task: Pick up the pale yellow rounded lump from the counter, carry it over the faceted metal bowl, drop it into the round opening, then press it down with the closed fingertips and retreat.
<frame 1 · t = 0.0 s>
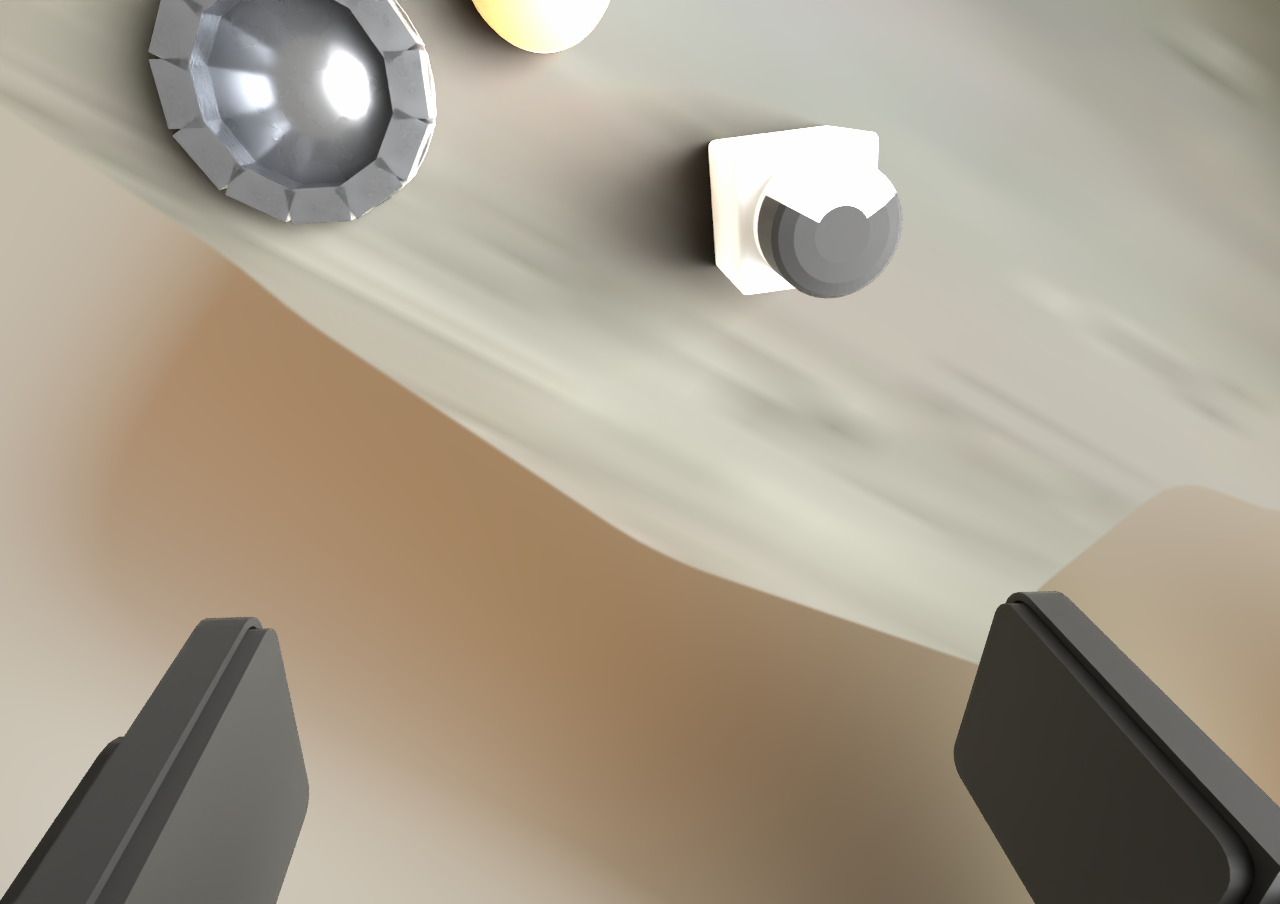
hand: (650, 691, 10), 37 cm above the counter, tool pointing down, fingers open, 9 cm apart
faceted metal bowl: (311, 89, 39), on the counter
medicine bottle: (770, 197, 44), on the counter
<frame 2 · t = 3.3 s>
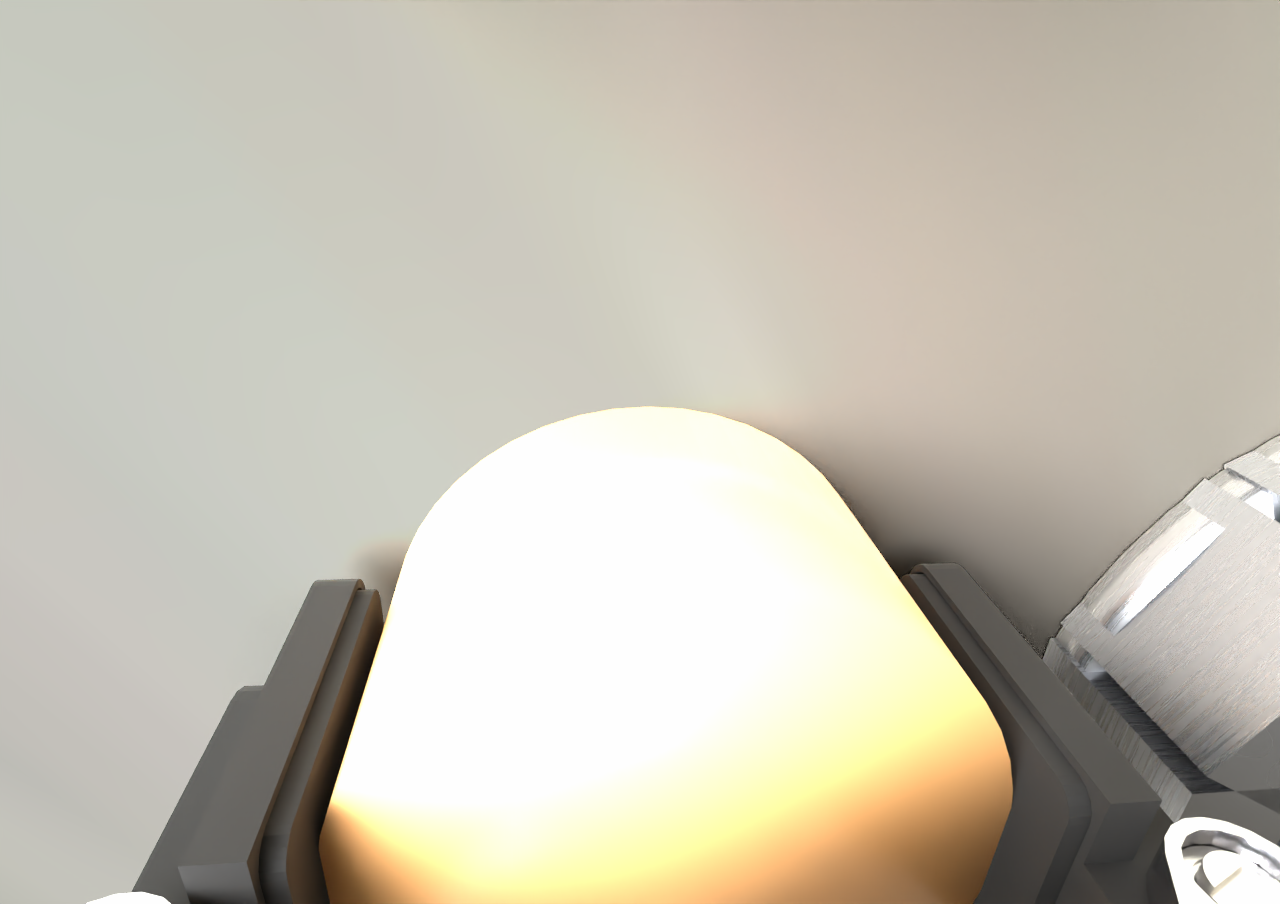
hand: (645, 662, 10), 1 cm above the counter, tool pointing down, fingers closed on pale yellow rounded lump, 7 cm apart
pale yellow rounded lump: (637, 622, 11), on the counter, touching gripper
when the fingers open (5 cm above the counter, at t = 7.7 s): pale yellow rounded lump drops 3 cm, resting on faceted metal bowl.
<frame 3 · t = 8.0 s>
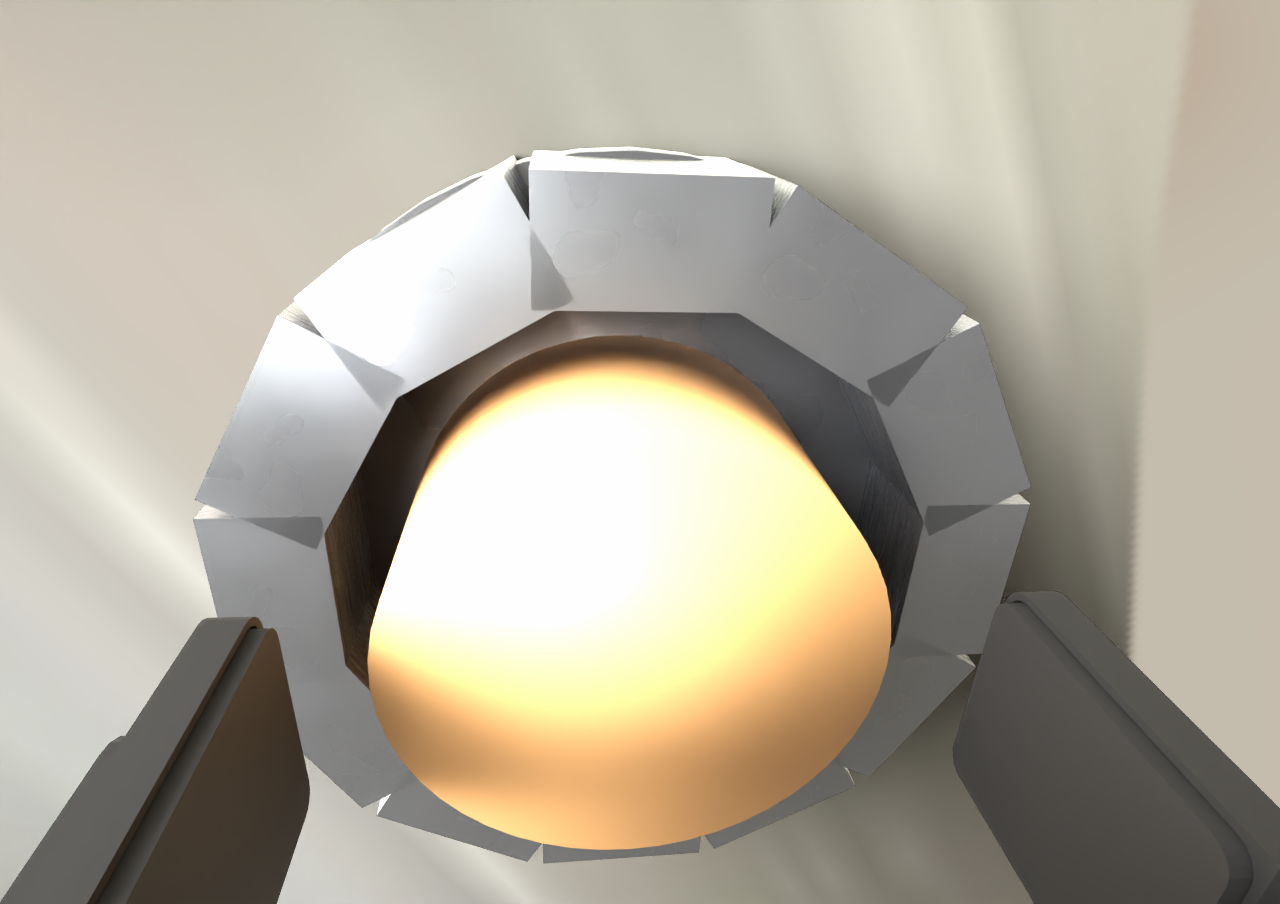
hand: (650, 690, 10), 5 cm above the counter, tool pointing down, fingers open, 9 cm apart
faceted metal bowl: (618, 499, 14), on the counter
pale yellow rounded lump: (616, 520, 14), point 1 cm above the counter, touching faceted metal bowl
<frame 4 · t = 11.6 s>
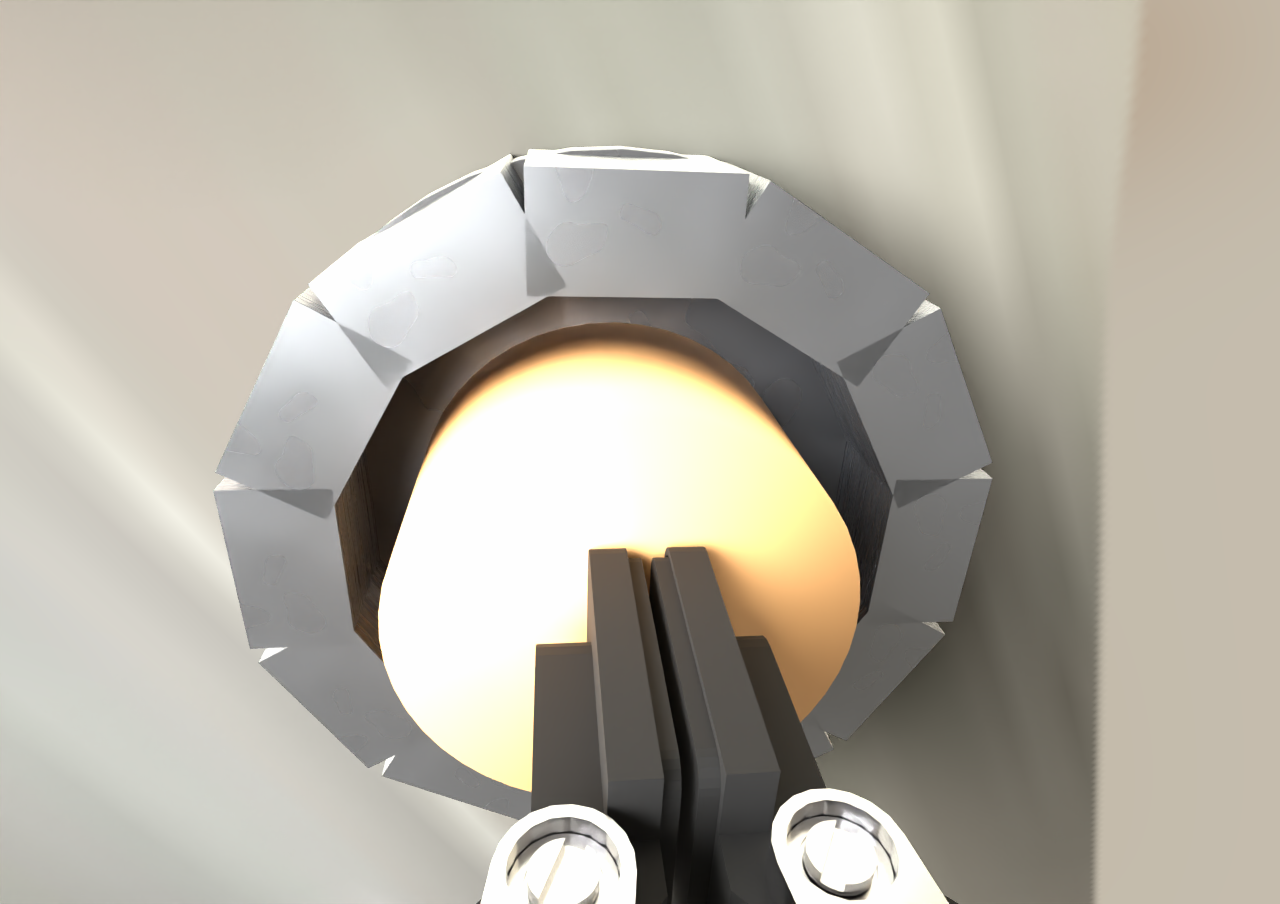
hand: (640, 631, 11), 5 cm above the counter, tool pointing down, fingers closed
faceted metal bowl: (610, 479, 15), on the counter
pale yellow rounded lump: (607, 498, 15), point 1 cm above the counter, touching faceted metal bowl, gripper
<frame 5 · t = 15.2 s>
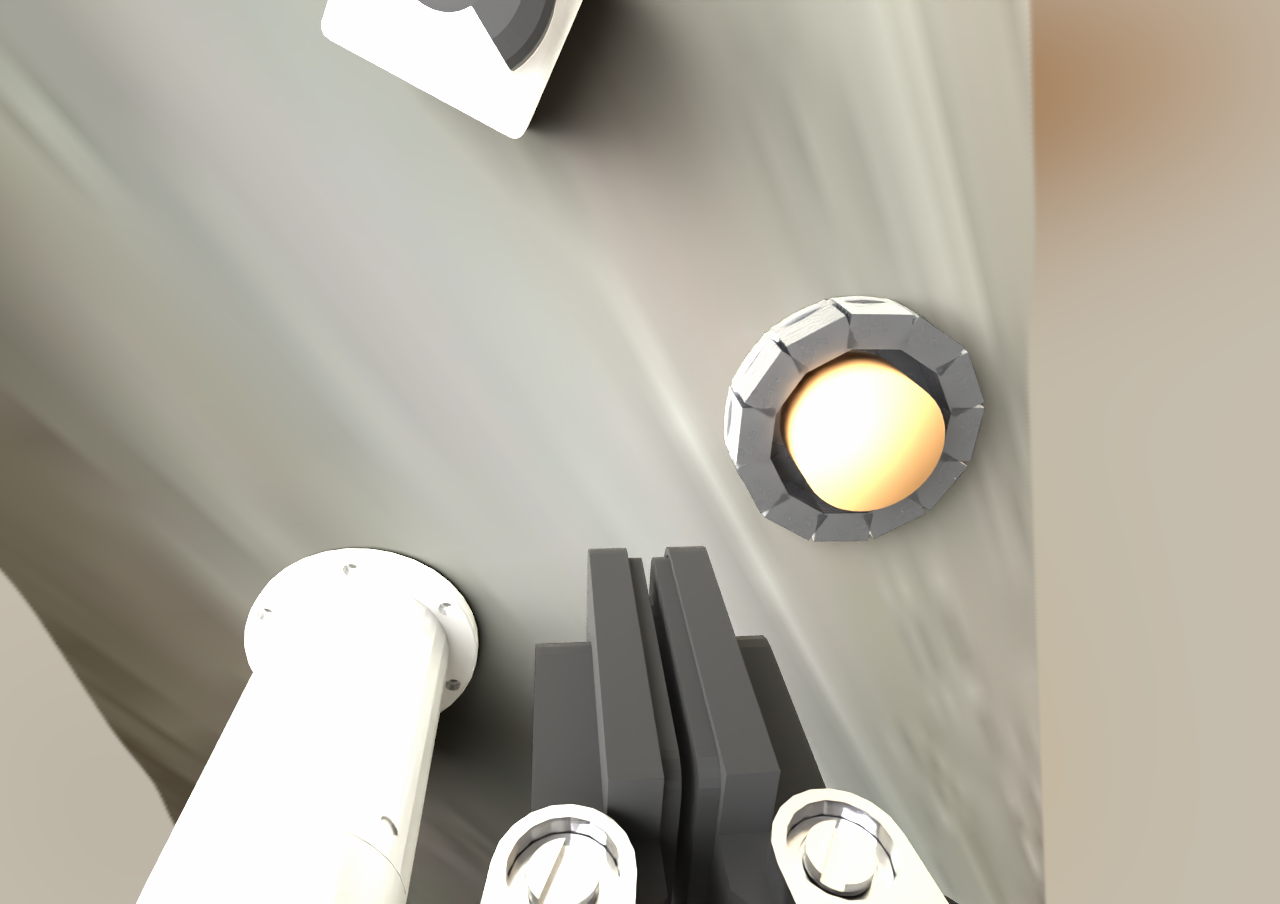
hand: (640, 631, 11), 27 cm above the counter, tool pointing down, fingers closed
faceted metal bowl: (839, 412, 40), on the counter
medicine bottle: (481, 3, 31), on the counter
pale yellow rounded lump: (844, 415, 39), point 1 cm above the counter, touching faceted metal bowl
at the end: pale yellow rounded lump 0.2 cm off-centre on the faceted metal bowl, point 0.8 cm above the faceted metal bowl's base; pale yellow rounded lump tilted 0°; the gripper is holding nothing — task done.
